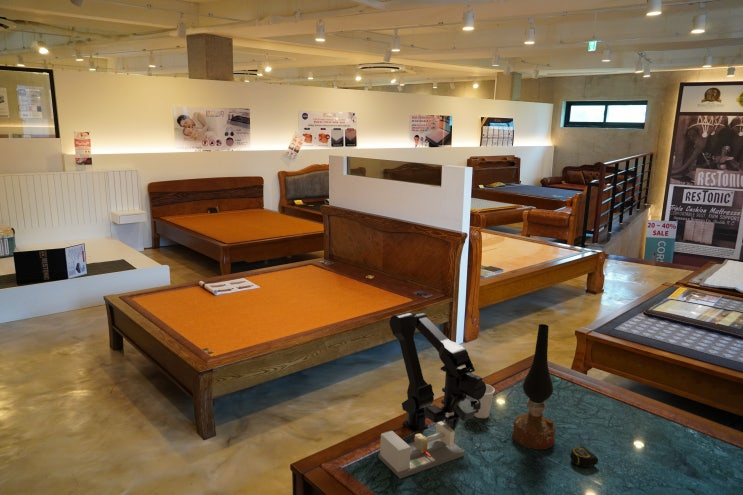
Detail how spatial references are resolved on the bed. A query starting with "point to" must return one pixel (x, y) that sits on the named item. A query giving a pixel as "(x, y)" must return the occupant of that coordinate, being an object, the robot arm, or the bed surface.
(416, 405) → the robot arm
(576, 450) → the tape measure
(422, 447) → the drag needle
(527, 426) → the oil lamp
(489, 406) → the dixie cup
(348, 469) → the bed surface
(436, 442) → the base
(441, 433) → the plunger
